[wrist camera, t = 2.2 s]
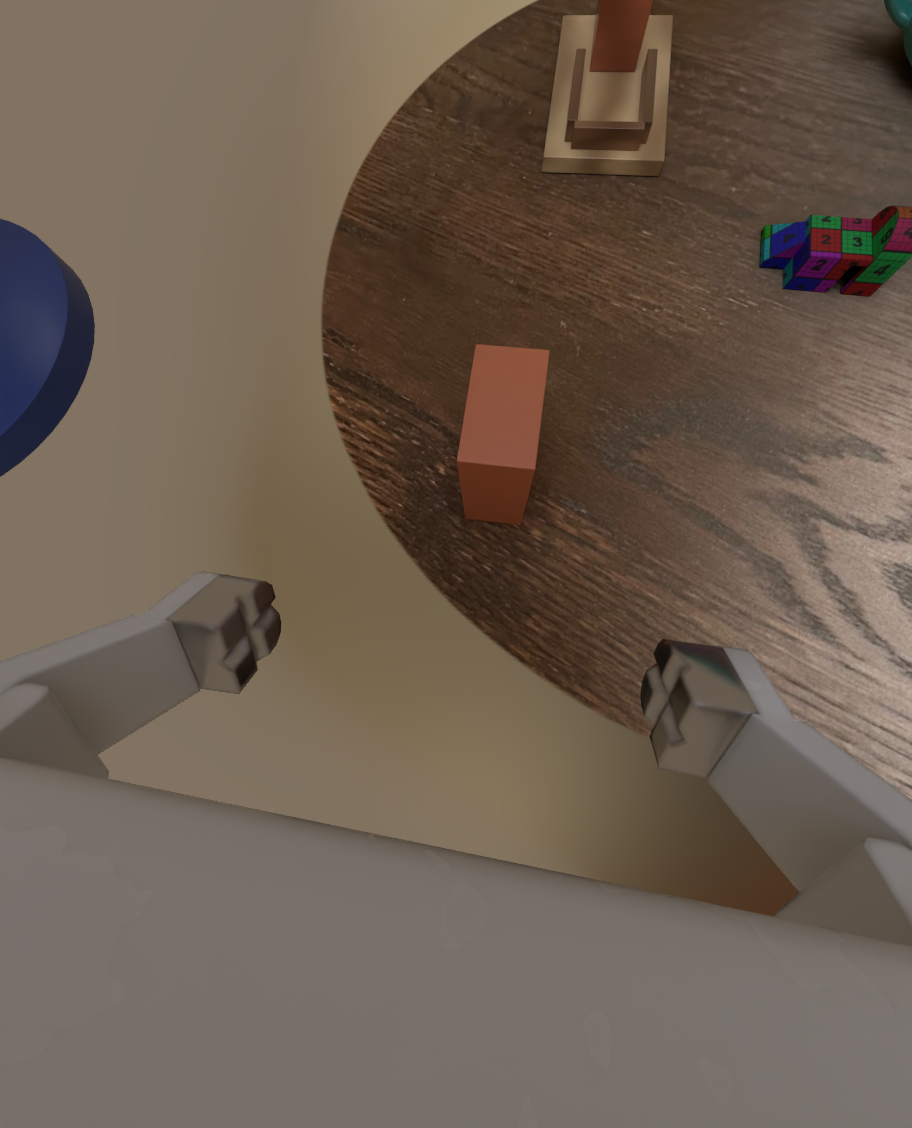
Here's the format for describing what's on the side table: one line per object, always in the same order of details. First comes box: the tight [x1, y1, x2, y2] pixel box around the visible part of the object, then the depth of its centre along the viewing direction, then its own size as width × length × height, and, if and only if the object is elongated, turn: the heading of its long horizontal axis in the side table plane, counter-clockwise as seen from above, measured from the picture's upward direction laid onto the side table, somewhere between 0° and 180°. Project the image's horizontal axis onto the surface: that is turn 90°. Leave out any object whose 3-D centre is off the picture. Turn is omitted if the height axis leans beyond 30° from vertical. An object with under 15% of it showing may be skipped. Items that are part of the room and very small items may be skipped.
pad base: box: [542, 0, 673, 176], centre depth 33 cm, size 10×18×10 cm, turn 171°
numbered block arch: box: [760, 206, 912, 296], centre depth 30 cm, size 8×5×4 cm
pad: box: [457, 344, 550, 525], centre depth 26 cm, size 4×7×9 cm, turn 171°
